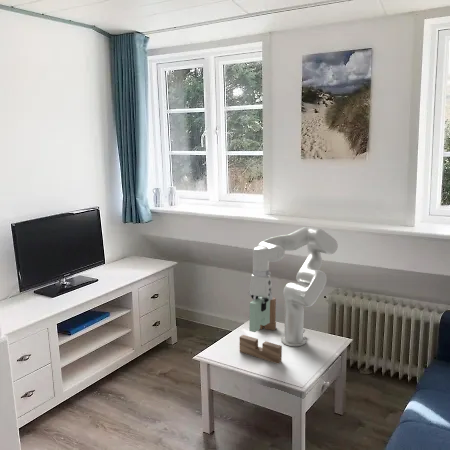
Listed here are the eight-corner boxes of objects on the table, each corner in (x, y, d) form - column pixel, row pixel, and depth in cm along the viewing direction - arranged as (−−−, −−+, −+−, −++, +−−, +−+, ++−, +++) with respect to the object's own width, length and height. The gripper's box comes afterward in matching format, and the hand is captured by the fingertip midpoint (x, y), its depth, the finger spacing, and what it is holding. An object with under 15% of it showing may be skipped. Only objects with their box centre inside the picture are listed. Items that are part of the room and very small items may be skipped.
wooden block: (256, 326, 267) (256, 296, 263) (275, 327, 265) (276, 297, 261) (256, 329, 263) (256, 298, 260) (275, 330, 262) (276, 299, 258)
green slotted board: (264, 321, 235) (264, 294, 232) (269, 322, 234) (270, 295, 231) (249, 330, 224) (249, 302, 221) (254, 332, 222) (255, 304, 219)
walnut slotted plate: (242, 349, 240) (242, 334, 238) (281, 361, 227) (281, 345, 226) (239, 351, 237) (239, 336, 236) (278, 363, 225) (278, 348, 223)
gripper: (279, 274, 222) (279, 311, 226) (250, 268, 231) (249, 303, 235) (272, 278, 216) (271, 316, 220) (241, 271, 225) (241, 308, 229)
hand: (260, 309), depth 227 cm, fingers closed on green slotted board, 3 cm apart
